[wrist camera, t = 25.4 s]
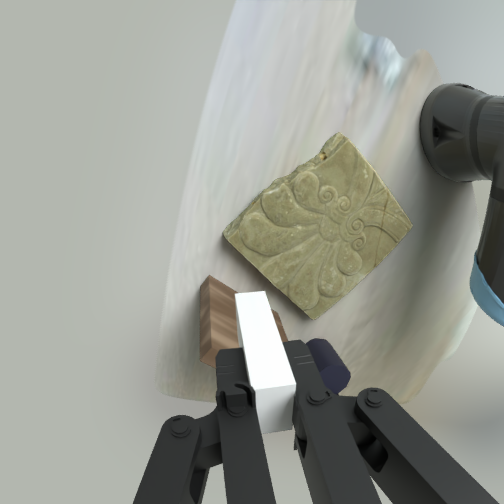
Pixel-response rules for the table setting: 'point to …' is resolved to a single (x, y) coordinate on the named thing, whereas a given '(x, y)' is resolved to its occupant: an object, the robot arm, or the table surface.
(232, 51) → the table surface
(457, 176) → the robot arm
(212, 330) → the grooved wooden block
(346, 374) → the speaker
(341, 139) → the decorative tile
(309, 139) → the table surface
